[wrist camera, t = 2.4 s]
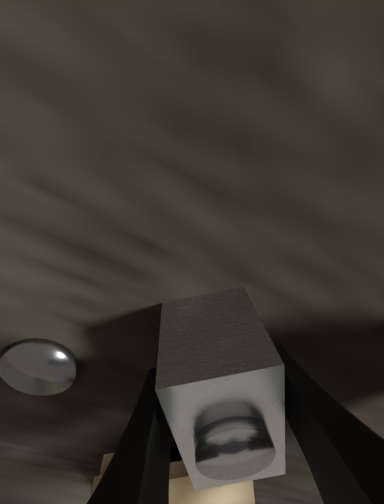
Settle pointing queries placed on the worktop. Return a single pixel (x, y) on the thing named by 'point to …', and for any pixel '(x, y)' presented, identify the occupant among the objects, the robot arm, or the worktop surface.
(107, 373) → the worktop surface
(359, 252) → the worktop surface
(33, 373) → the round metal disc
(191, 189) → the worktop surface
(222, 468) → the housing
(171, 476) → the stand
